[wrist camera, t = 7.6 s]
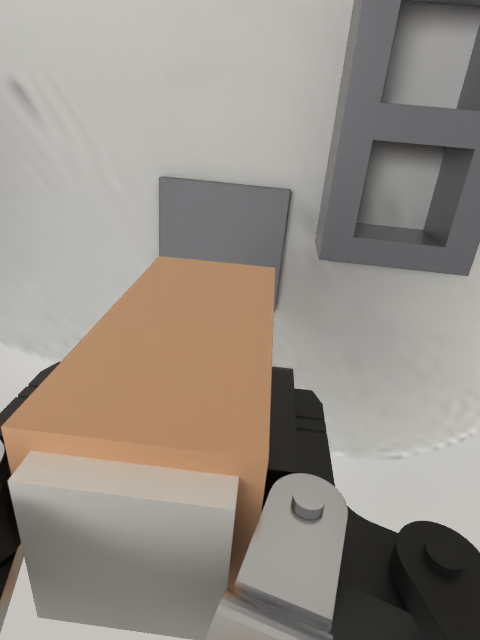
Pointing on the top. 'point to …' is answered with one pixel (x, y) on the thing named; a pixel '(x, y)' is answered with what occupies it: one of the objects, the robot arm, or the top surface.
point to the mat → (222, 222)
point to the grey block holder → (407, 127)
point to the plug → (149, 452)
